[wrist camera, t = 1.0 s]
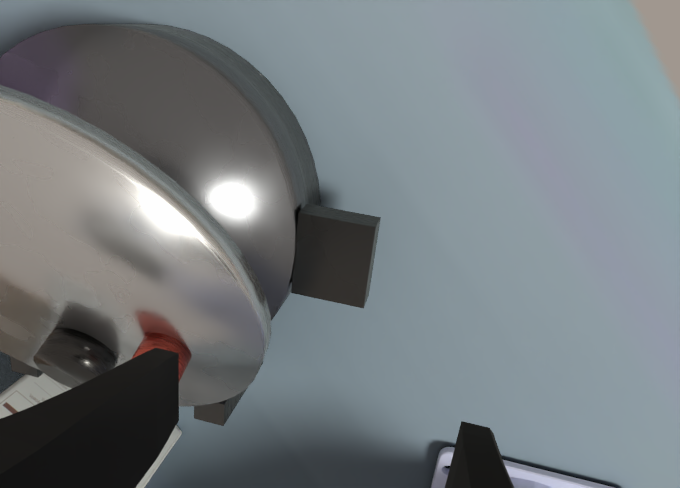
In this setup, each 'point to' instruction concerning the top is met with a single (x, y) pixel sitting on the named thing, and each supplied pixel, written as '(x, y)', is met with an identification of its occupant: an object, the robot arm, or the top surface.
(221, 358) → the cooker lid
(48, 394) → the supplement box
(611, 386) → the top surface
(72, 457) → the robot arm
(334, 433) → the top surface
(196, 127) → the cooker pot
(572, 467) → the top surface
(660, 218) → the top surface
